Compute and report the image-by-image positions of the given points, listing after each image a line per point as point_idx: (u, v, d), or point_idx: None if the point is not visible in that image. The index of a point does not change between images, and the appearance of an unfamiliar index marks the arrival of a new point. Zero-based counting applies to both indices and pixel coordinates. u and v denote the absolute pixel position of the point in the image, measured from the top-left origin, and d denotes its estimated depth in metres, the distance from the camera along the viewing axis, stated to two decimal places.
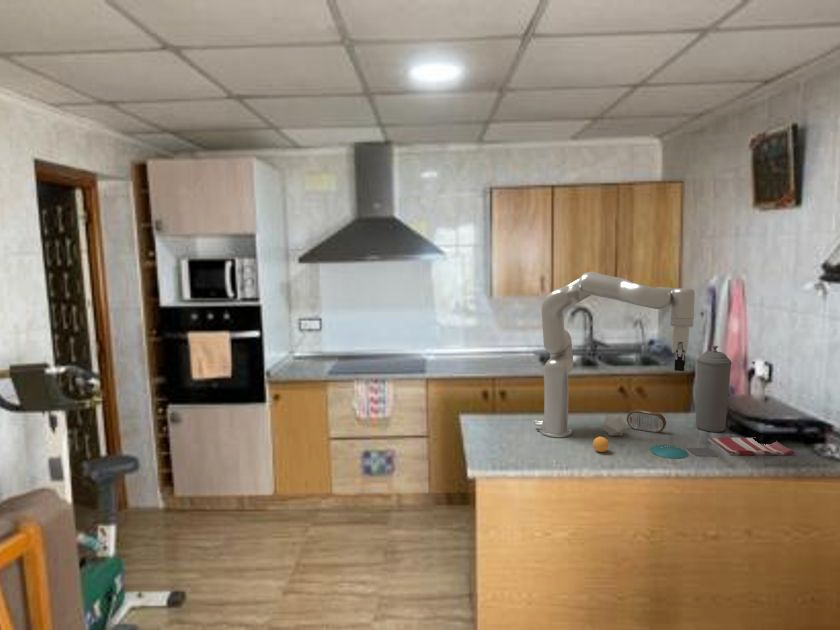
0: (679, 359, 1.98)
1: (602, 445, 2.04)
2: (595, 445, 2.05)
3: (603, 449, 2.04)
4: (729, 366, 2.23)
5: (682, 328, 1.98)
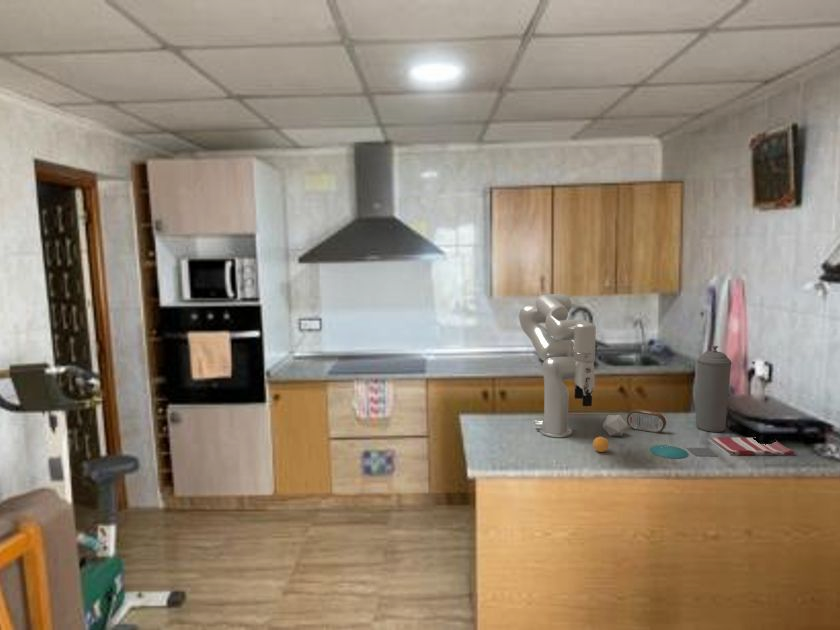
0: None
1: (602, 445, 2.04)
2: (595, 445, 2.05)
3: (603, 449, 2.04)
4: (729, 366, 2.23)
5: None
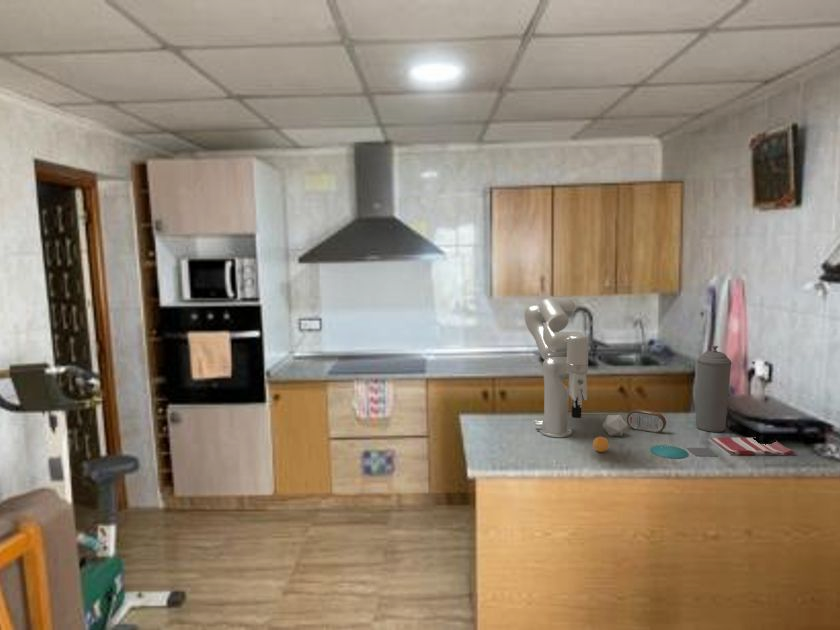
0: None
1: (602, 445, 2.04)
2: (595, 445, 2.05)
3: (603, 449, 2.04)
4: (729, 366, 2.23)
5: None
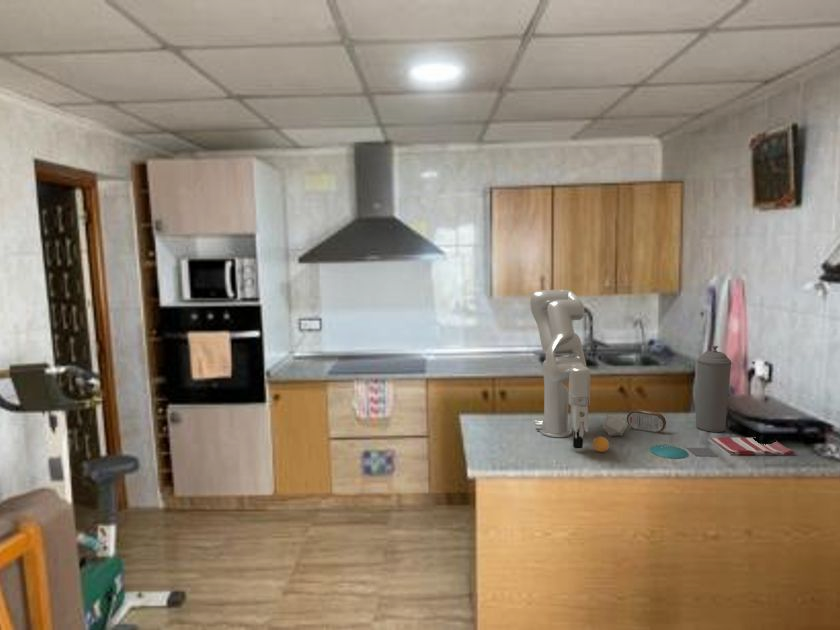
0: None
1: (602, 445, 2.04)
2: (595, 445, 2.05)
3: (603, 449, 2.04)
4: (729, 366, 2.23)
5: None
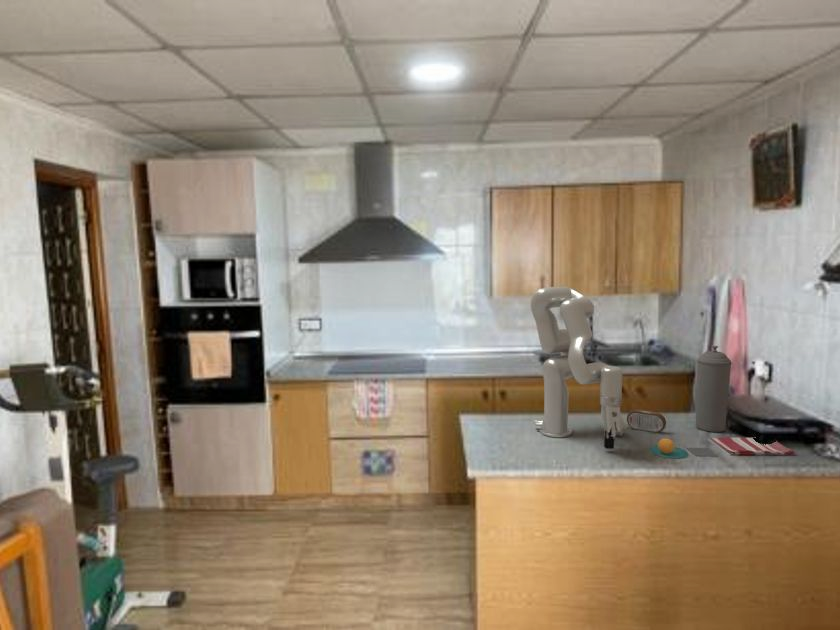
0: None
1: (670, 449, 2.01)
2: (669, 441, 2.02)
3: (665, 449, 2.02)
4: (729, 366, 2.23)
5: None
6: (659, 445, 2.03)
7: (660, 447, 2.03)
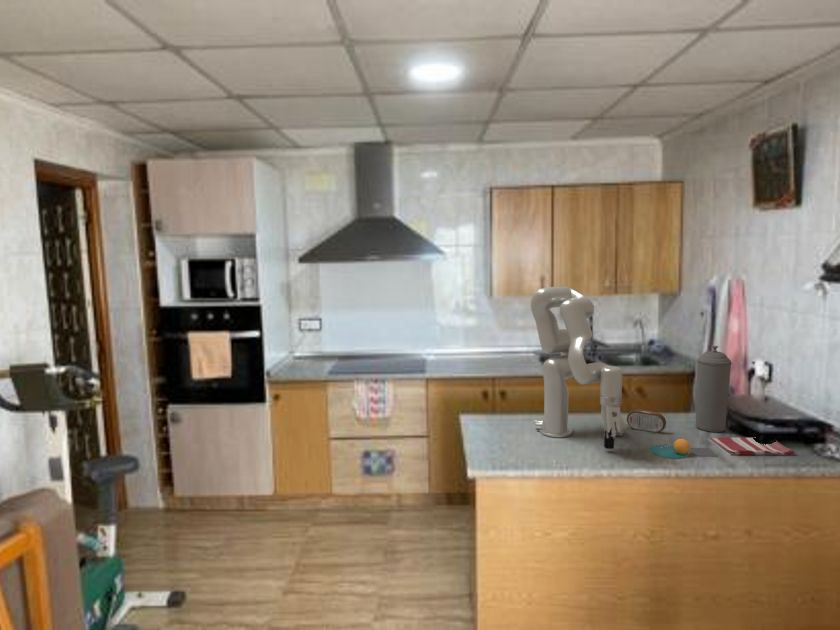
0: None
1: (683, 450, 2.01)
2: None
3: (685, 446, 2.01)
4: (729, 366, 2.23)
5: None
6: (687, 441, 2.02)
7: (686, 442, 2.02)
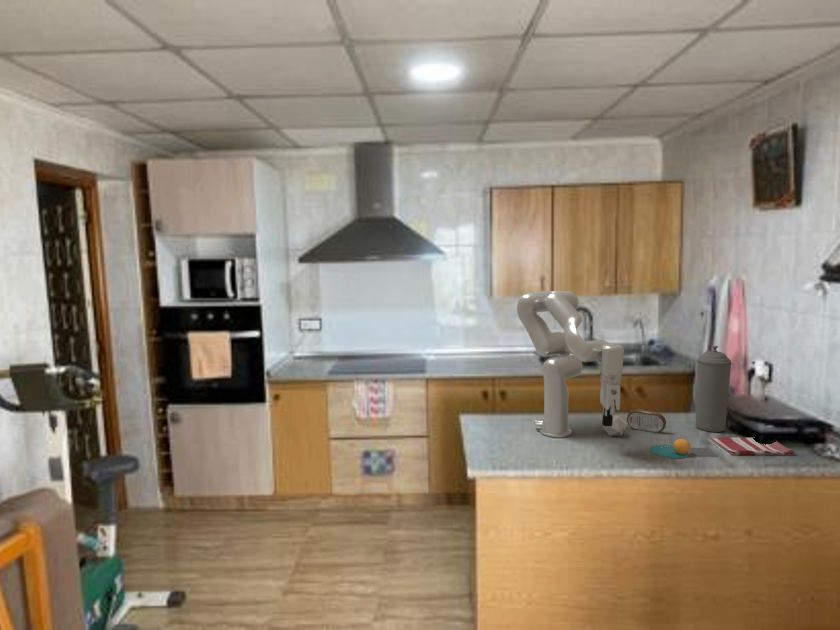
0: None
1: (683, 450, 2.01)
2: None
3: (685, 446, 2.01)
4: (729, 366, 2.23)
5: None
6: (687, 441, 2.02)
7: (686, 442, 2.02)
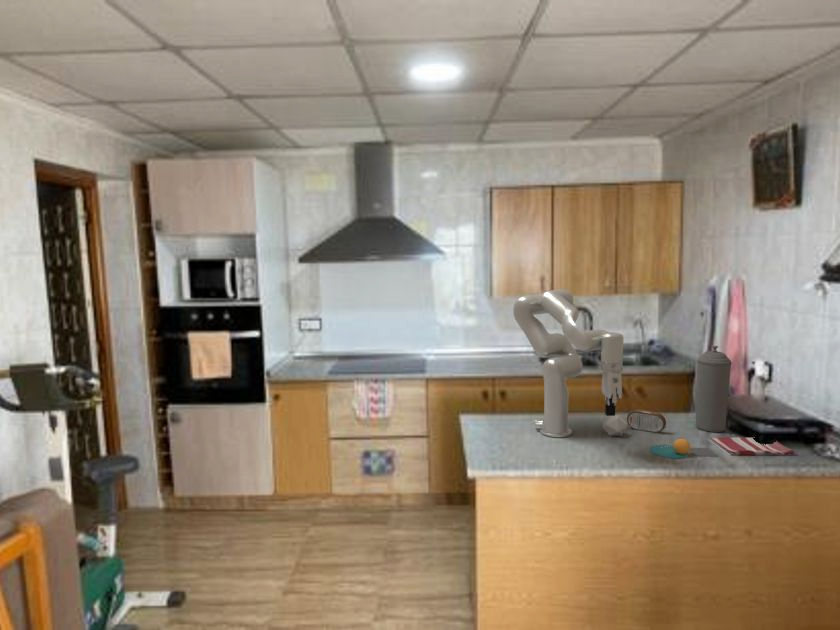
0: None
1: (683, 450, 2.01)
2: None
3: (685, 446, 2.01)
4: (729, 366, 2.23)
5: None
6: (687, 441, 2.02)
7: (686, 442, 2.02)
